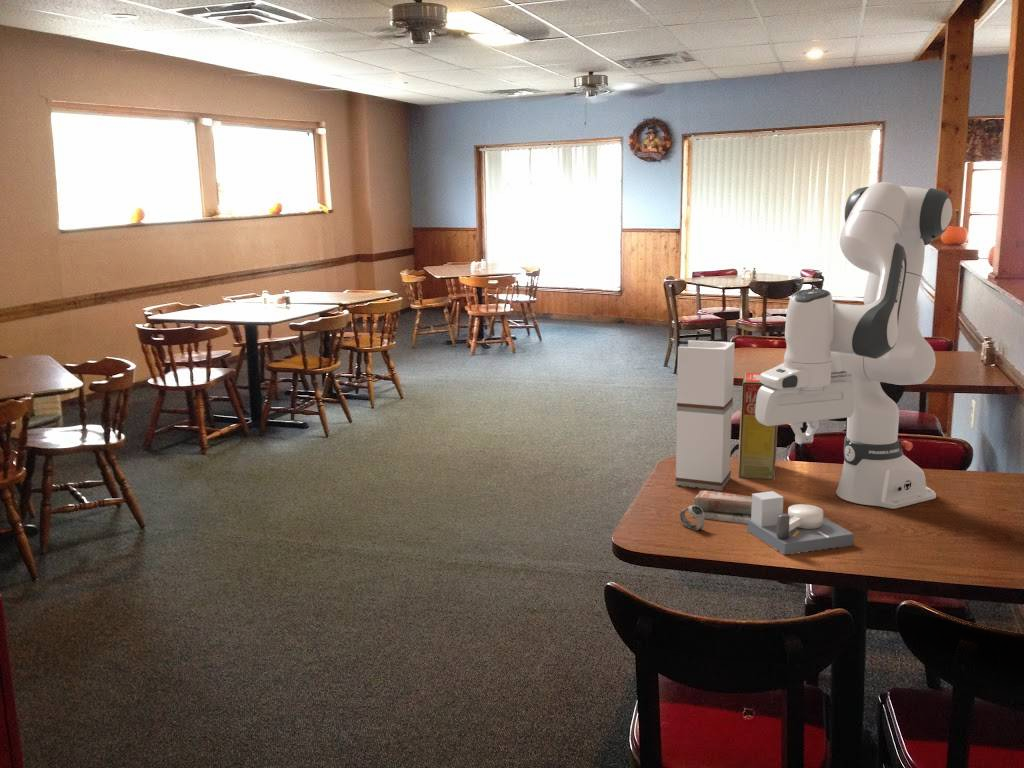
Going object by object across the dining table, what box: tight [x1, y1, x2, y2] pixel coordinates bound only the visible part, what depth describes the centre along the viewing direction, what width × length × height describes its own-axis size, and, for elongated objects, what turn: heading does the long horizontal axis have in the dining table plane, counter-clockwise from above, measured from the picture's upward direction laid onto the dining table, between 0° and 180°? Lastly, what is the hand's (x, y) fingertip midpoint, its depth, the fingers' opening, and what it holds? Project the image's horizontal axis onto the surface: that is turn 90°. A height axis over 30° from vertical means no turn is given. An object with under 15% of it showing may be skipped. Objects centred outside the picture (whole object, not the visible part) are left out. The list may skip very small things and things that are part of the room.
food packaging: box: [737, 371, 779, 480], centre depth 227 cm, size 13×9×25 cm
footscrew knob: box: [777, 503, 824, 539], centre depth 183 cm, size 15×7×4 cm, turn 136°
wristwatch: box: [679, 504, 706, 531], centre depth 192 cm, size 4×6×5 cm, turn 36°
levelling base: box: [746, 490, 855, 555], centre depth 184 cm, size 16×14×8 cm
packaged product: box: [690, 490, 752, 525], centre depth 199 cm, size 18×5×10 cm
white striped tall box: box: [675, 339, 735, 491], centre depth 219 cm, size 11×11×35 cm
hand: (803, 442), depth 174 cm, fingers closed
